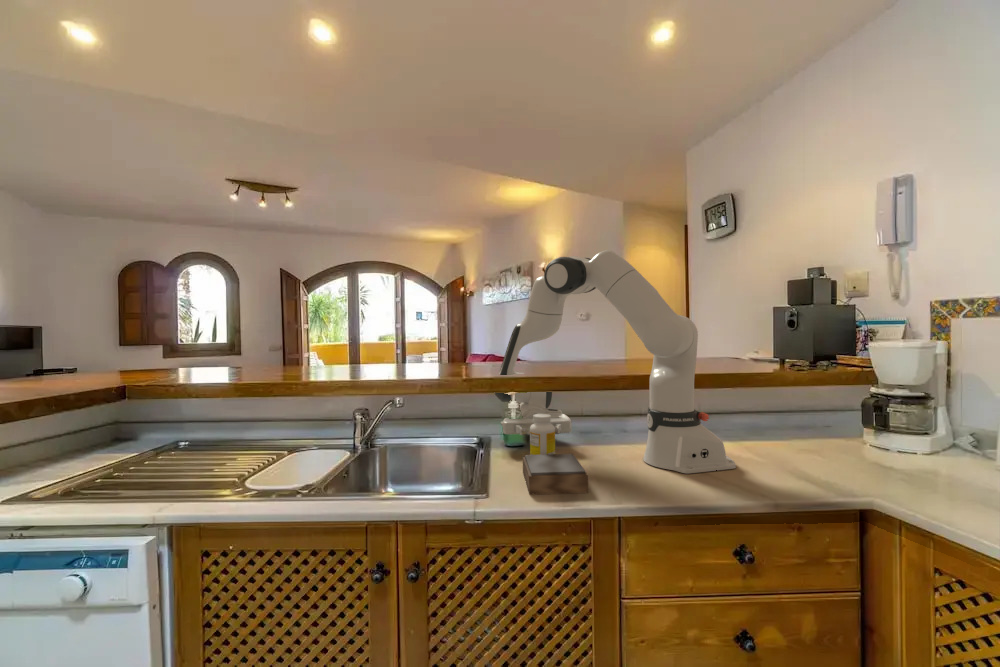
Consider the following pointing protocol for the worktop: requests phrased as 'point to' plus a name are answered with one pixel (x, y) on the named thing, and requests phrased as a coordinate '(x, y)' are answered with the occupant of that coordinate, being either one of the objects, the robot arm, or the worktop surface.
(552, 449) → the supplement bottle
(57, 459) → the worktop surface
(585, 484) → the block
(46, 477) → the worktop surface
